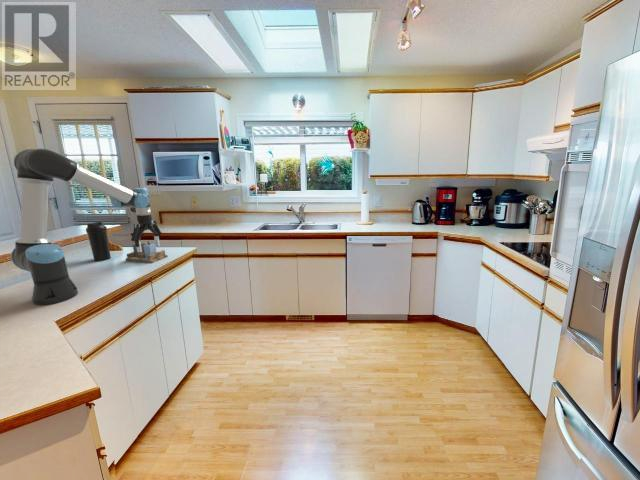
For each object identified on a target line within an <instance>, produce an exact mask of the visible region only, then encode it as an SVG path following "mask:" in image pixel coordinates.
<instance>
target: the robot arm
mask: <svg viewBox="0 0 640 480" xmlns="http://www.w3.org/2000/svg"><path fill="white" fill-rule="evenodd" d="M13 166H14V168H15V170H16V172H17V173H16V174H17V176H16V178H17V180H19V181H20V183H21V207H20V209H21V210H20V237H19V238H18V239H16V240H15V243H14V245H15V246H14V247H15V248H14V249H13V250H12V251H11V253H10V259H11V261H12V264H14V266H16V268H19V269H20V270H23V271H26V272H29V273H30V275H31V278H32V279H31V280H32V282H33V288H32V289H33V290H32V296H31V301H32V303H33V305H36V306H37V305H38V306H47V305H52V304H57V303H60V302H64V301H67V300H69V299H72V298H74V297H76V296H77V295H78V293H79V291H78V288H77V286H76V285H75V283H74V282H73V280H72V279H71V278H70V275H69V270H68V267H67V262H66V259H65V258H66V257H65V252H64V251H63V248H62V247H61V246H60V245H58V244H56V243H52V241H51V240H50V239H49V238H48V215H49V213H48V212H49V189H50V187H49V186H51V185H52V184H53V183H54V178H55V179H58V180H62V181H64V182H72V183H74V184H77V185H80V186H81V187H82V186H83V187H85V188H87V189H90V190H92V191H94V192H97V193H100V194H102V195H105V196H107V197H110V198H109V199H110V203H111V206H113V207H115V208H122V207H124V208H126V207H127V208H135V215H136V220H137V222H138V223H137V224H135V223H134V224H133V230H132V234H131V237H130V238H131V239H130V240H131V242H134V244H135V246H136V247H137V252H142V249H141V243H142V242H141V241H140V240H141V238H142V235H143V234H144V232H145V231H147V230H149V231H150V232H151V233H152V234H153V235H154V236H153V238H154V244H155V246H156V247H160V246H161V245H160V241H161V240H160V239H161V238H160V236H161V235H162V231H161V230H160V227H159V226H158V225H157V221H156V220H153V219H152V212H151V210H152V209H151V205H150V195H149V190H148V188H146V187H135V188H132V189H130V188H127V187H125V186H123V185H121V184H119V183H116V182H115V181H112V180H110V179H108V178H106V177H104V176H101V175H100V174H97V173H96V172H93V171H91V170H89V169H87V168H85V167H82V166H80V165H79V163H78V162H76V161H74V160H72V159H70V158H68V157H67V156H64V155H63V154H60V153H58V152H55V151H53V150H50V149H46V148H37V149H36V148H29V149H28V148H27V149H23V150H21V151H19V152H18V153H16V154H15V155H14V158H13Z"/></svg>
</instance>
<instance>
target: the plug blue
mask: <svg viewBox="0 0 640 480" xmlns="http://www.w3.org/2000/svg"><path fill="white" fill-rule="evenodd" d="M143 247H144V253H145V258H148V256H149V255H151V254H154V253H157V252H158V251H157V246H155V243H151V240H148V241H147V243H146V244H145V245H143Z"/></svg>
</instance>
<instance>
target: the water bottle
mask: <svg viewBox="0 0 640 480" xmlns="http://www.w3.org/2000/svg"><path fill="white" fill-rule="evenodd" d="M103 223H104V222H103V221H95V222H93V223H87V224H86V225H87V227H86V229H85V232H86V234H87V238H88V241H89V244H90V249H91V253H92V258H93V261H94V262H103V261H107V260H111V258H112V256H111V249H110V245H109V239H108V237H109V236H108V231H107V230H108V228H107V226H106V225H105V224H103Z"/></svg>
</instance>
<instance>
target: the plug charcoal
mask: <svg viewBox="0 0 640 480" xmlns="http://www.w3.org/2000/svg"><path fill="white" fill-rule="evenodd" d="M143 245H146V244H145V242H141V249H142V252H137V247H136V246H135V243H133V244H132V248H133V252H134V255H135V257H137V255H138V254H141V253H144V247H143Z"/></svg>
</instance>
